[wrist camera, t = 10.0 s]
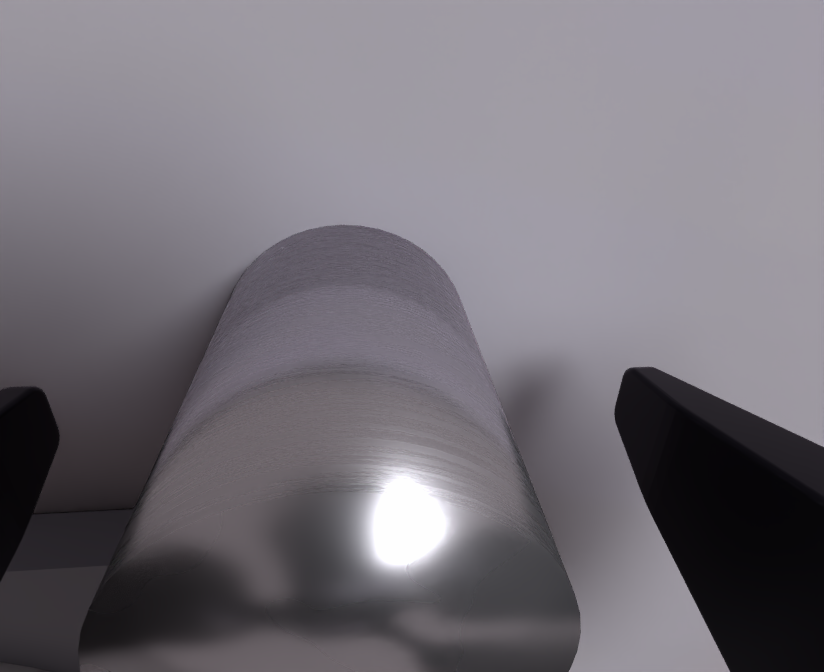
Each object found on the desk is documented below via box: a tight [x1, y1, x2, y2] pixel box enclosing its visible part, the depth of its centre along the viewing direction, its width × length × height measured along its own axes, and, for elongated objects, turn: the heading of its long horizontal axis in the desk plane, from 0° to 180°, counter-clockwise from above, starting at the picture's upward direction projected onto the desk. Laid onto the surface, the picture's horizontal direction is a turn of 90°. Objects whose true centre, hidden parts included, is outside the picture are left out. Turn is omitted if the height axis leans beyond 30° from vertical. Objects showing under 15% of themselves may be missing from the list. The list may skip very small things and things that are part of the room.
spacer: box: [78, 225, 581, 672], centre depth 8 cm, size 4×4×6 cm
